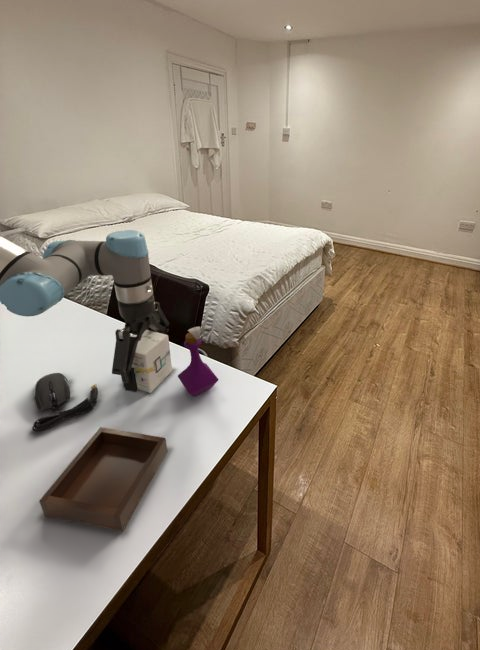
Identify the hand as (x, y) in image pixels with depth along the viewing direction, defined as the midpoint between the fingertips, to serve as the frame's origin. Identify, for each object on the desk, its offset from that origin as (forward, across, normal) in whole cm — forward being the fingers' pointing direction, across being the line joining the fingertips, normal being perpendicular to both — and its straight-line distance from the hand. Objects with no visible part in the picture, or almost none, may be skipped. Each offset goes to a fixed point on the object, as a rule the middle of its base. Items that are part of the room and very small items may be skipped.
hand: (147, 370), depth 82 cm
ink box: (+2, 0, 0) cm, 2 cm away
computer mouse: (+2, -9, +15) cm, 18 cm away
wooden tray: (+2, -25, -8) cm, 26 cm away
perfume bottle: (+3, -1, -14) cm, 14 cm away
